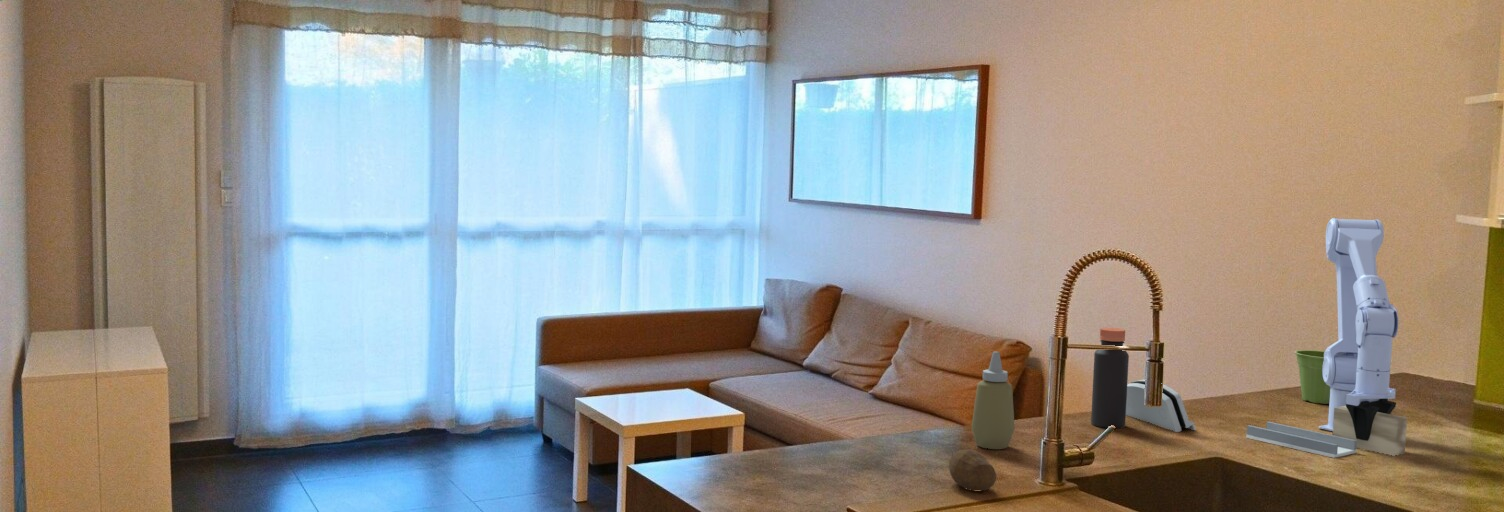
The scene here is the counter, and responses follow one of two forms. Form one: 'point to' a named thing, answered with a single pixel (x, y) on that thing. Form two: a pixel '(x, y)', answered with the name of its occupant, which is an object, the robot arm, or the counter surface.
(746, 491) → the counter surface
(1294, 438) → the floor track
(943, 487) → the counter surface
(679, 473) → the counter surface
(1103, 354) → the dark grey water bottle
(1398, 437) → the door panel
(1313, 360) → the plant pot
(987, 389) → the squeeze bottle
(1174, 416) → the light blue curved block
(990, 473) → the potato
